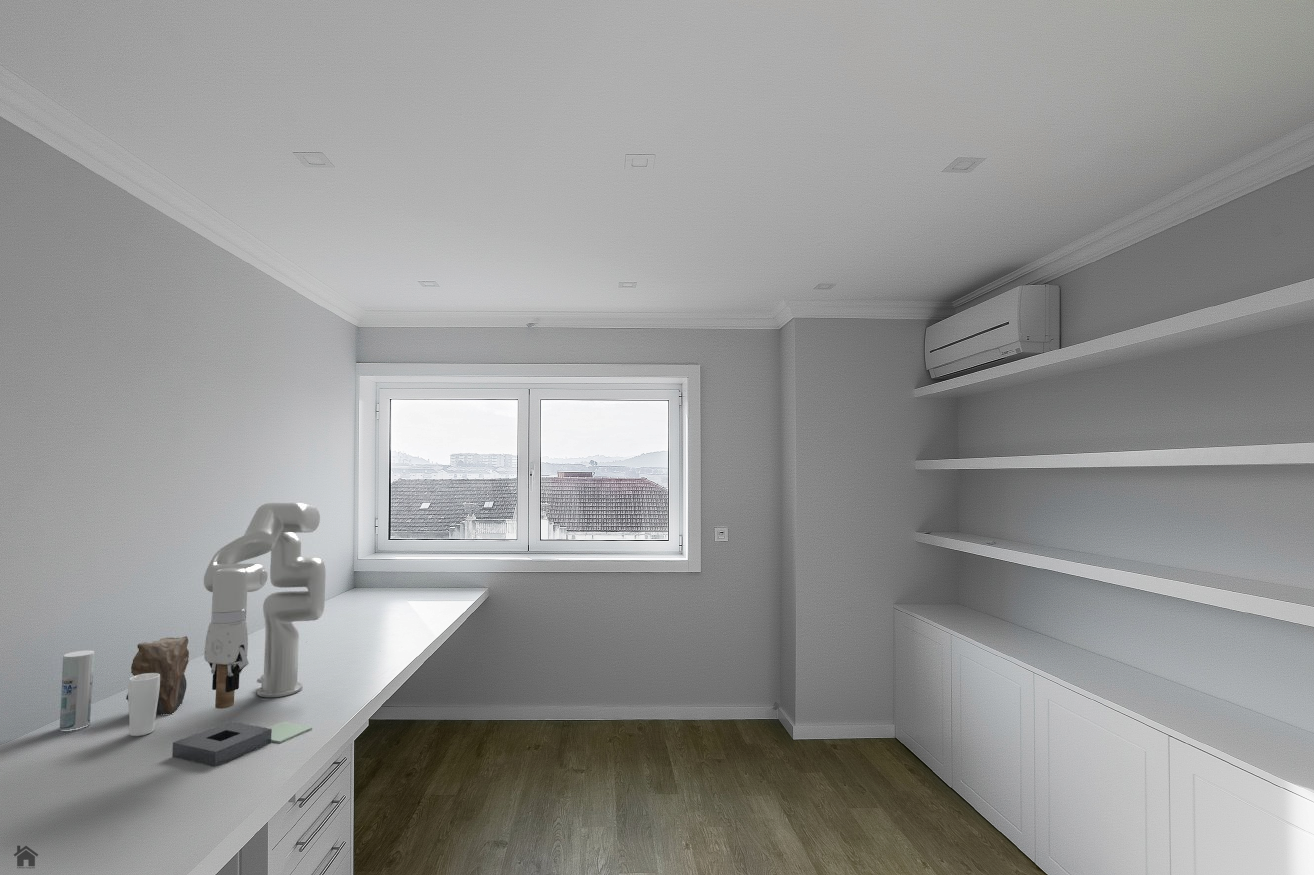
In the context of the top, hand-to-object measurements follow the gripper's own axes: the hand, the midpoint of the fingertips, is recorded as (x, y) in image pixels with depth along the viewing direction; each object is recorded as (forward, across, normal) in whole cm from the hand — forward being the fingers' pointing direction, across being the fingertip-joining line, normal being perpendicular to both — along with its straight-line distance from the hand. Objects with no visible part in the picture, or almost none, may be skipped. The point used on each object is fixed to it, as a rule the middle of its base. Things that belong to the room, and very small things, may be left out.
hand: (225, 688), depth 166 cm
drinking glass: (+15, -30, 0) cm, 34 cm away
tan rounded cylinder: (+4, 0, 0) cm, 4 cm away
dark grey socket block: (+15, 0, 0) cm, 15 cm away
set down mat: (+15, +4, +13) cm, 21 cm away
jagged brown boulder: (+15, -43, +13) cm, 47 cm away
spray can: (+15, -51, -4) cm, 54 cm away
